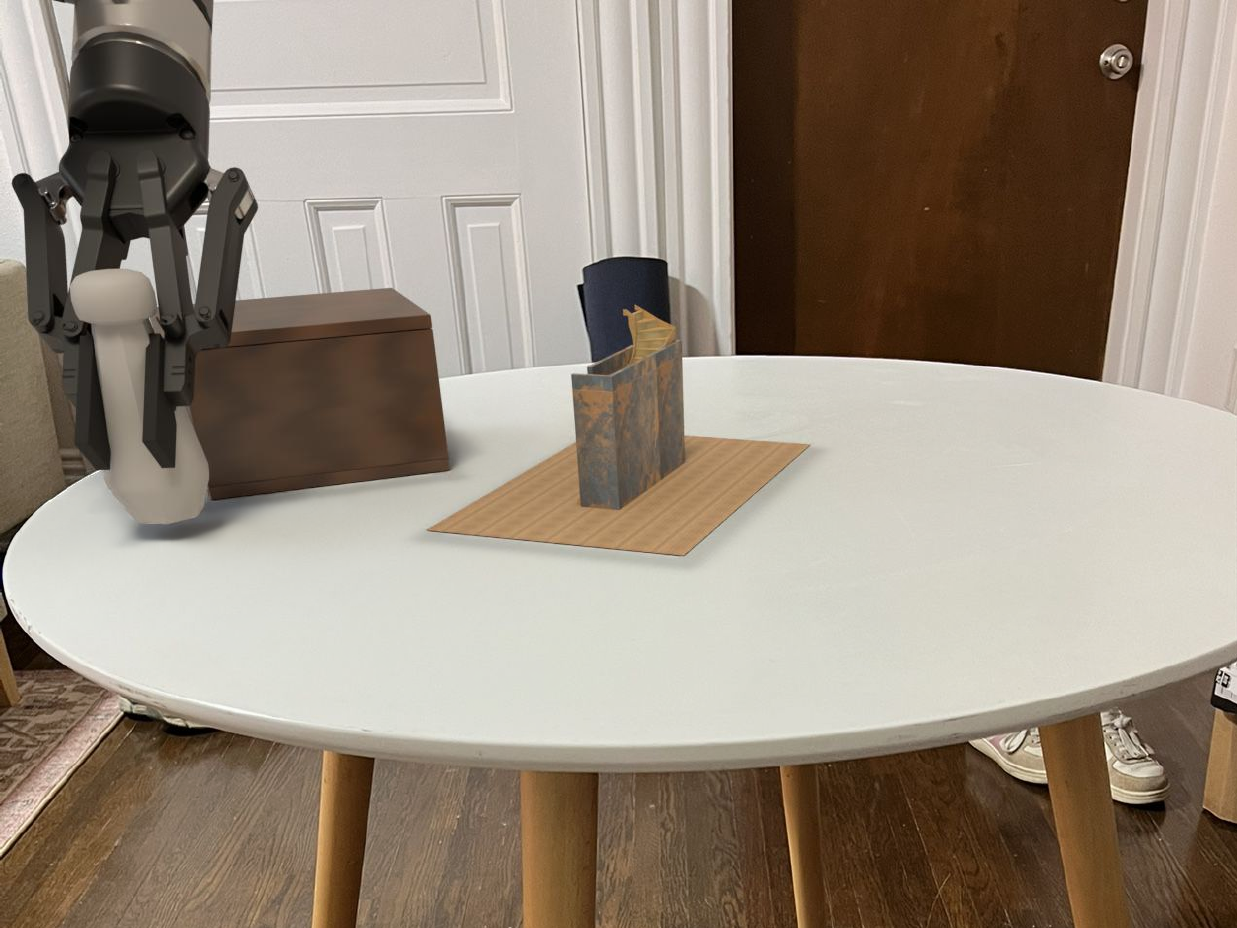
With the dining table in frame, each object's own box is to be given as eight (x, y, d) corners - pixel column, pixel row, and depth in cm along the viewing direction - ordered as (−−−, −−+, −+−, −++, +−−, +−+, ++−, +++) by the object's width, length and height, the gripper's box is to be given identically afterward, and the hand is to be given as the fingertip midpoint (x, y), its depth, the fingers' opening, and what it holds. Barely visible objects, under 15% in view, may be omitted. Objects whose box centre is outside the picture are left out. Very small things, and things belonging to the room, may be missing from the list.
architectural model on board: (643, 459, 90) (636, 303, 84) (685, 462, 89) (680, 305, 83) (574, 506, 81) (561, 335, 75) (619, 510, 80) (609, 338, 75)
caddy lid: (161, 353, 79) (120, 178, 73) (150, 320, 88) (113, 164, 83) (432, 328, 83) (411, 163, 78) (394, 299, 93) (373, 151, 88)
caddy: (211, 500, 84) (177, 352, 79) (195, 454, 93) (164, 320, 89) (450, 470, 88) (432, 328, 83) (412, 429, 98) (394, 300, 93)
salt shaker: (190, 530, 75) (129, 279, 68) (97, 528, 76) (27, 280, 68) (234, 500, 80) (181, 263, 72) (146, 498, 80) (85, 263, 73)
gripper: (-32, 36, 73) (-60, 422, 68) (258, 28, 73) (249, 412, 68) (35, 141, 80) (13, 495, 76) (298, 134, 80) (291, 486, 76)
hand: (125, 455), depth 72 cm, fingers closed on salt shaker, 3 cm apart
